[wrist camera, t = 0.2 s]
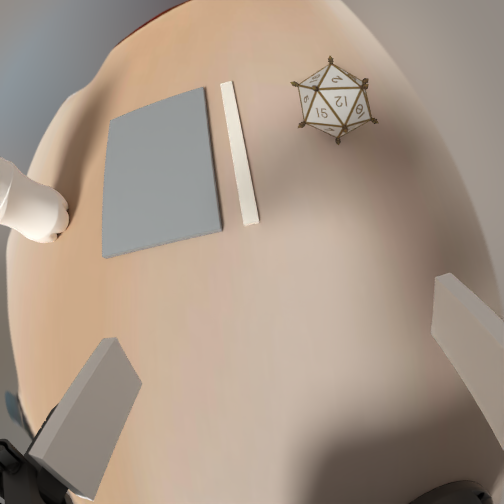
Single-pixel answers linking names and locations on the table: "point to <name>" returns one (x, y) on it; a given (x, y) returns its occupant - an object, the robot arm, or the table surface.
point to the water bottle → (30, 205)
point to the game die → (334, 101)
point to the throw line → (239, 157)
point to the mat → (159, 176)
